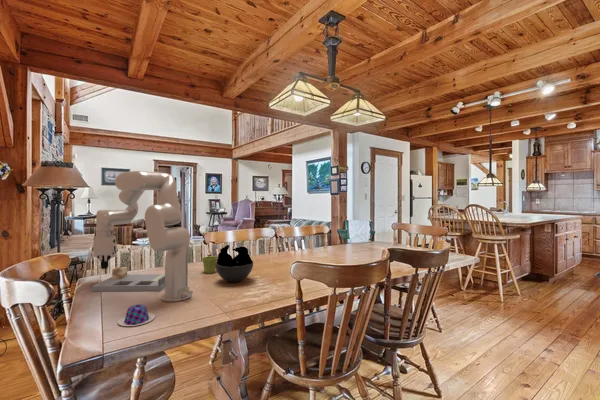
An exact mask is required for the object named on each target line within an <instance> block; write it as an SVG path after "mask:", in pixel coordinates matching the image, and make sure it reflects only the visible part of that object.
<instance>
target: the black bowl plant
mask: <svg viewBox="0 0 600 400" xmlns="http://www.w3.org/2000/svg"><path fill="white" fill-rule="evenodd" d="M229 249H230V245H229V244H227V245H225V246H224V247H222V248H220V249H219V253H218V254H217V257H218V258H217V262H216V263H215V267H216V269H215V271H216V273H217V274H218V276H219V277H221V279H223V280H224V281H227V282H229V283H237V282H241V281H242V280H243V281H244V280H245V279H246V278H247V277H249V275H250V274H251V272H252V270H253V268H254V261H253V260H252V258H251V256H250V255H249V254H250V253H249V248H247V247H246V246H239V247H237V246H236V247H235V248H232V251H234V252H235V253H238V254H236V255H235V256H234V257H233V256H232V255H230V253H228V250H229Z"/></svg>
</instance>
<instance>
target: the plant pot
mask: <svg viewBox="0 0 600 400" xmlns="http://www.w3.org/2000/svg"><path fill="white" fill-rule="evenodd" d="M217 258H218V256H214V255H213V256H211V255H210V256H203V257H201V260H202V264H203V270H204V273H205V274H214V273H216V267H215V263H216V262H217Z"/></svg>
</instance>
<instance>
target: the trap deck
mask: <svg viewBox="0 0 600 400" xmlns="http://www.w3.org/2000/svg"><path fill="white" fill-rule="evenodd" d="M162 290H165V273H164V274H163V273H156V274H155V273H154V274H153V273H150V274H149V273H147V274H145V273H144V274H139V273H134V274H132V273H131V274H130V273H129V274H128V273H127V277H125V278H123V279H112V276H111V277H109V278H107V279H104V280H101V281H100V282H97V283H96V284H94V285H92V286H91V292H161V291H162Z"/></svg>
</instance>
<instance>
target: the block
mask: <svg viewBox="0 0 600 400" xmlns="http://www.w3.org/2000/svg"><path fill="white" fill-rule="evenodd" d="M111 272H112V273H111V277H112V279H123V278H125V277H127V274H128V267H127V266H116V267H115V268H112V269H111Z"/></svg>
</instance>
